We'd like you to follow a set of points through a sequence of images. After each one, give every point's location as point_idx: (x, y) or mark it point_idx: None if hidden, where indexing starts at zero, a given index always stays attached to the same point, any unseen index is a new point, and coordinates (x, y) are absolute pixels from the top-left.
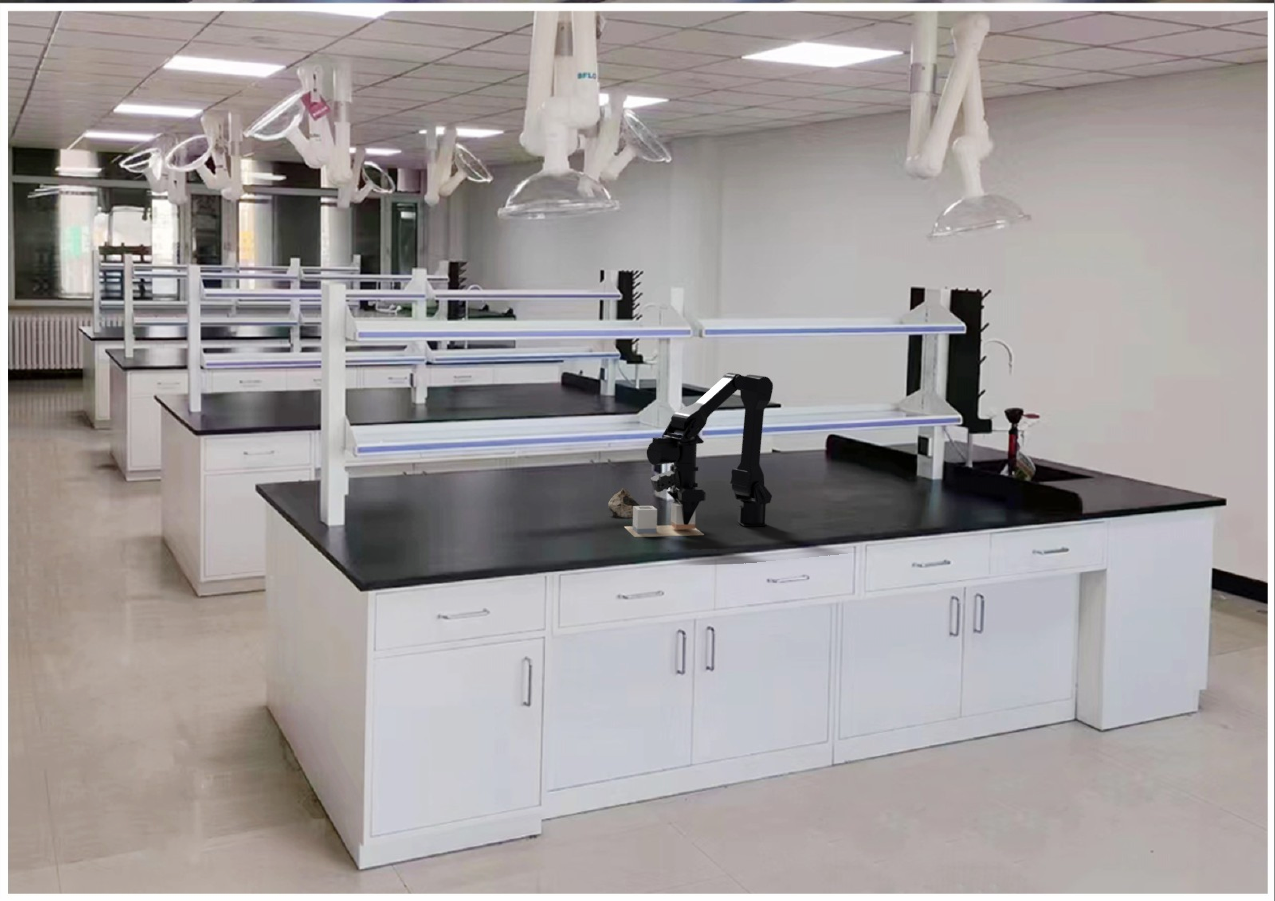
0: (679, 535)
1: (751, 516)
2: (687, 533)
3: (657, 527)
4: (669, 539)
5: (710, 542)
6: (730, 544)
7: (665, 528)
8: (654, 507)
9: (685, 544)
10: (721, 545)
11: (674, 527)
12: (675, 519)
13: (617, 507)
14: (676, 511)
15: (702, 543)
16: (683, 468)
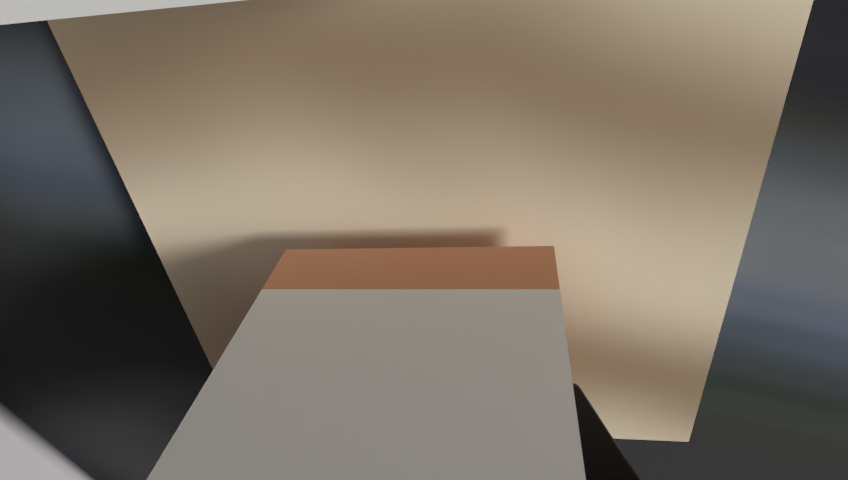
0: (149, 230)
1: None
2: None
3: (644, 42)
4: None
5: (167, 397)
6: (145, 471)
7: (548, 153)
8: (185, 2)
9: (19, 217)
10: (96, 427)
11: (350, 253)
12: (270, 338)
13: None
14: (157, 470)
15: (114, 345)
16: None
